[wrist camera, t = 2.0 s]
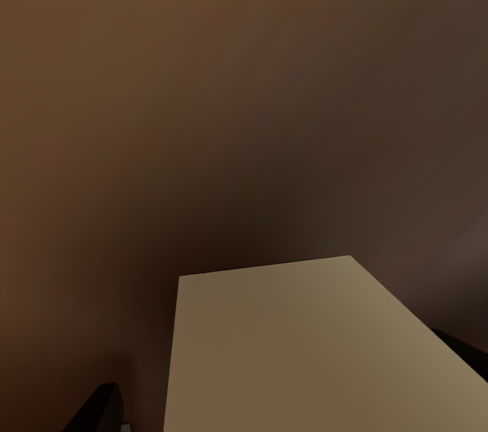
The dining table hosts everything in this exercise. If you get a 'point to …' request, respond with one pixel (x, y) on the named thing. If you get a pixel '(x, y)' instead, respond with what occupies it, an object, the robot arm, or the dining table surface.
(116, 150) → the dining table surface
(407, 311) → the cream orange-topped box
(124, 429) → the grey flat square slab
